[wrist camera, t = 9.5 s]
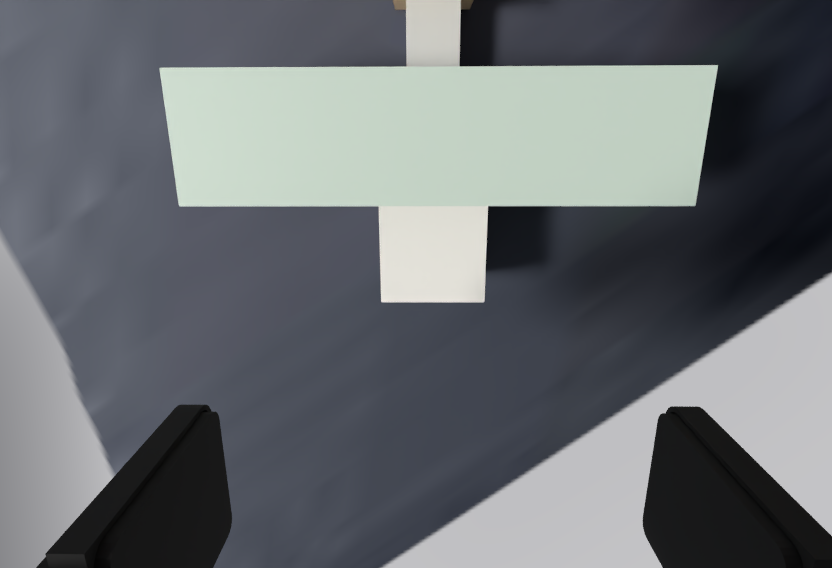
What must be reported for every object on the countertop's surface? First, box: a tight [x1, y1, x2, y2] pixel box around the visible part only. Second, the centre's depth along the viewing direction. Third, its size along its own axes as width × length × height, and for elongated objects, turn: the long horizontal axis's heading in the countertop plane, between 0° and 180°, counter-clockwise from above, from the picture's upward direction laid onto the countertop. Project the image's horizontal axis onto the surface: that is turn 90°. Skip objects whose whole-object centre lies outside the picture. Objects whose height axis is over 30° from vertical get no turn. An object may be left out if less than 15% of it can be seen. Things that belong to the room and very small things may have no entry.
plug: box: [379, 0, 488, 302], centre depth 19 cm, size 14×4×4 cm, turn 0°
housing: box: [160, 65, 718, 206], centre depth 18 cm, size 4×16×7 cm, turn 90°
